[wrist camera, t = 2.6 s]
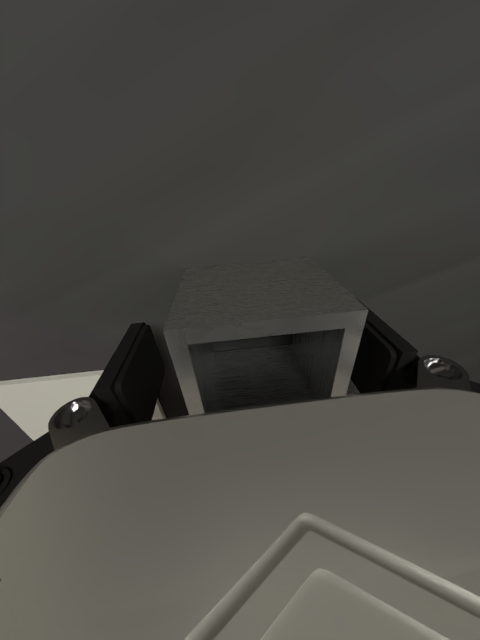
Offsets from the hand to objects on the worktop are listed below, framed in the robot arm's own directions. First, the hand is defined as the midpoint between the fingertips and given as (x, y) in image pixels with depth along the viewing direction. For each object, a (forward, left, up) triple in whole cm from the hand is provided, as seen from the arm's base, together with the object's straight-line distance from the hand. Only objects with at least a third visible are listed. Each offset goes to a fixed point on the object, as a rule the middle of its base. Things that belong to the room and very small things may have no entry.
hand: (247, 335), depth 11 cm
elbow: (0, +3, -2) cm, 3 cm away
